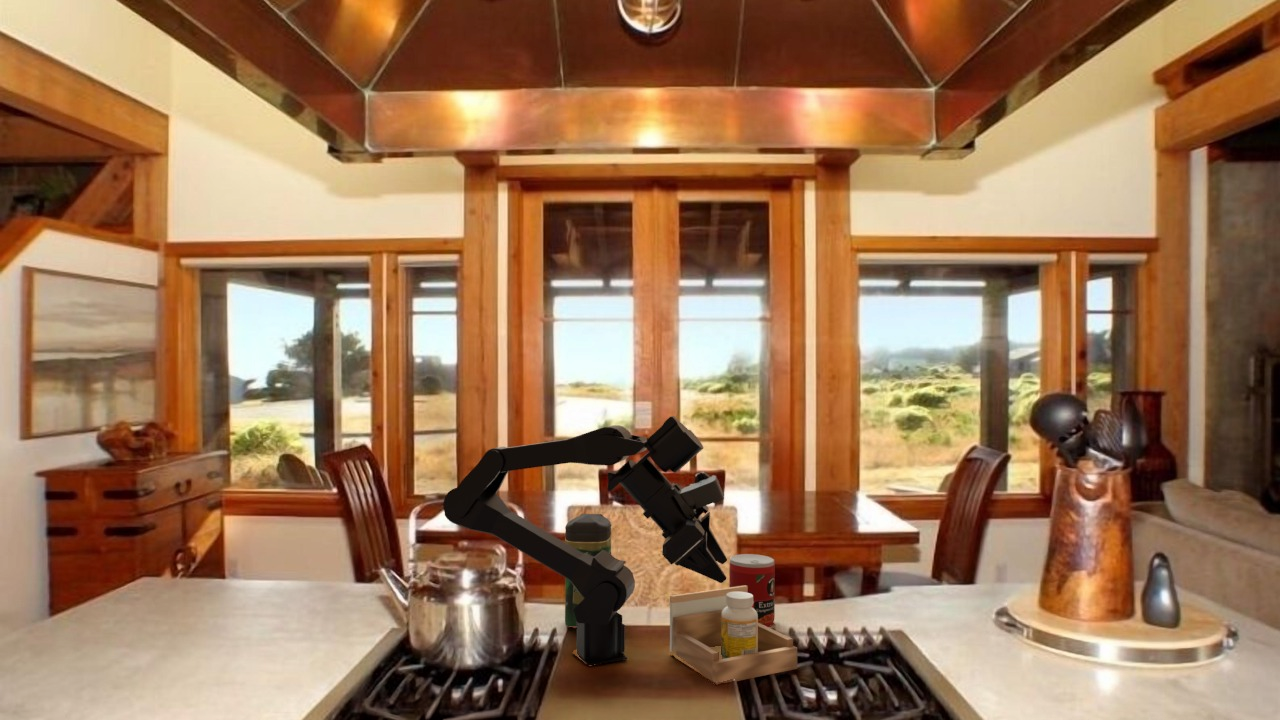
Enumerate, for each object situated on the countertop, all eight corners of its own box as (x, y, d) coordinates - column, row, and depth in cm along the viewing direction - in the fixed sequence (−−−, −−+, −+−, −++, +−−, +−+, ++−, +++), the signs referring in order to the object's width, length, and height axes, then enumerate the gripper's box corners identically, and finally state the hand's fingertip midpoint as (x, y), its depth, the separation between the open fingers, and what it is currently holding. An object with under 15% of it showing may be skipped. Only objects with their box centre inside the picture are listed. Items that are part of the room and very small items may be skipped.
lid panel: (671, 656, 115) (671, 596, 115) (669, 655, 116) (669, 595, 116) (747, 642, 122) (747, 586, 122) (745, 641, 122) (745, 585, 122)
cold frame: (716, 685, 104) (716, 641, 104) (673, 657, 115) (673, 617, 115) (797, 668, 110) (797, 626, 111) (749, 643, 121) (749, 605, 121)
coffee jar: (569, 614, 136) (570, 510, 137) (613, 615, 136) (614, 511, 136) (560, 631, 127) (561, 519, 127) (607, 633, 126) (608, 520, 127)
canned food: (761, 632, 127) (761, 566, 127) (720, 623, 132) (720, 559, 132) (782, 621, 133) (782, 558, 133) (742, 612, 138) (742, 551, 138)
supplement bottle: (753, 669, 108) (753, 601, 109) (716, 664, 110) (717, 597, 111) (761, 656, 113) (761, 592, 114) (726, 651, 115) (726, 588, 116)
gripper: (689, 467, 104) (767, 553, 103) (696, 448, 122) (762, 521, 121) (630, 520, 105) (707, 606, 104) (646, 494, 124) (711, 566, 123)
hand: (724, 571), depth 113 cm, fingers open, 9 cm apart
